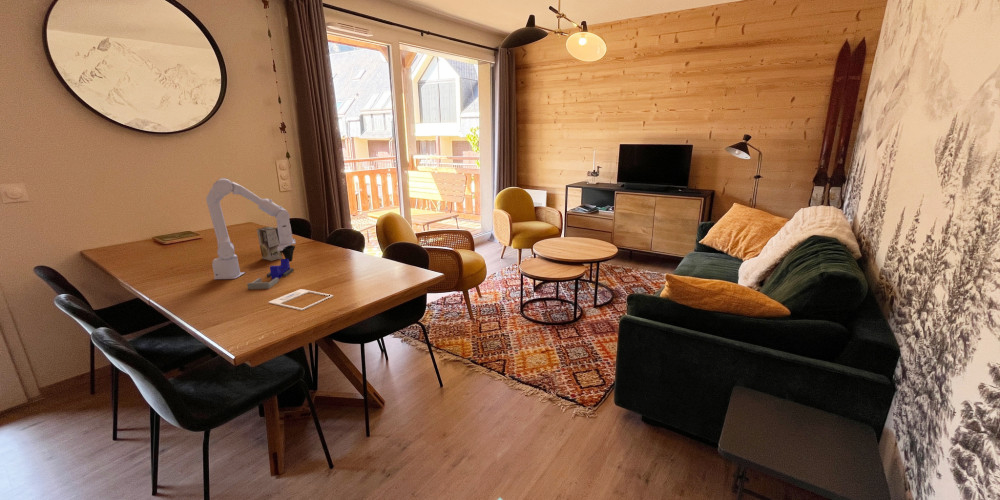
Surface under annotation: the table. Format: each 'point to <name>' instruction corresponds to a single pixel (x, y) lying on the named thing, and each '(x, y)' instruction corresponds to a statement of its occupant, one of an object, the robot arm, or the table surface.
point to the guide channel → (284, 273)
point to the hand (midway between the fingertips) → (289, 261)
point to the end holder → (262, 284)
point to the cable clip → (280, 269)
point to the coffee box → (269, 243)
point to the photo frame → (295, 295)
